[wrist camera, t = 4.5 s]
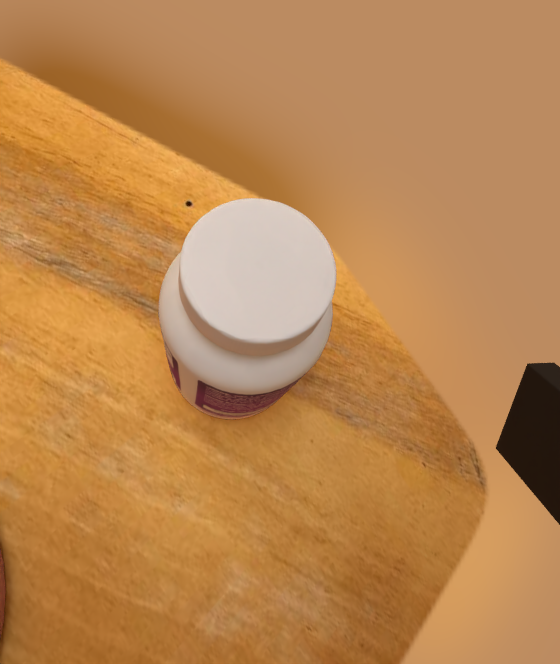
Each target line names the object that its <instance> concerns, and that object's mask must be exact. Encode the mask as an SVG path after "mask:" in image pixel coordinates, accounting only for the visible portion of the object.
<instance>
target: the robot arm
mask: <svg viewBox="0 0 560 664" xmlns="http://www.w3.org/2000/svg"><path fill="white" fill-rule="evenodd" d="M496 449H497V450H498V451H499V453H500V454H501V455H502V456H503V457H504V459H505V460H506V461H507V462H508V463H509V465H510V466H511V467H512V468H513V469H514V471H515V472H516V473H517V474H518V475H519V477H521V479H522V480H523V481H524V482H525V484H526V485H527V486H528V487H529V489H530V490H531V491H532V492H533V493H534V495H535V496H536V497H537V498H538V499H539V500H540V501H541V503H542V504H543V505H544V507H545V508H546V509H547V510H548V511H549V512H550V514H551V515H552V516H553V517H554V519H555V520H556V521H557V522H558V523H559V524H560V367H559V366H558V365H556V364H555V363H534V364H533V363H532V364H527V366H526V369H525V372H524V374H523V377H522V380H521V382H520V385H519V388H518V390H517V393H516V395H515V398H514V401H513V404H512V406H511V409H510V412H509V414H508V417H507V419H506V422H505V425H504V427H503V430H502V433H501V435H500V438H499V441H498V443H497V447H496Z"/></svg>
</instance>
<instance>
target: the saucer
mask: <svg viewBox="0 0 560 664" xmlns="http://www.w3.org/2000/svg"><path fill="white" fill-rule="evenodd" d="M5 592H6V589H5V576H4V563H3V558H2V554H1V549H0V639H1V633H2V627H3V622H4V610H5Z"/></svg>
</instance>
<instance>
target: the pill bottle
mask: <svg viewBox="0 0 560 664" xmlns="http://www.w3.org/2000/svg"><path fill="white" fill-rule="evenodd" d="M335 286H336V265H335V260H334V256H333V253H332V250H331V248H330V246H329V244H328V242H327V240H326V239H325V237H324V236H323V234H322V233H321V231H320V230H319V229H318V228H317V227H316V226H315V225H314V223H313V222H312V221H311V220H310V219H308V218H307V217H306V216H305V215H303V214H302V213H300V212H299V211H297V210H295V209H293V208H292V207H289V206H287V205H285V204H283V203H279V202H276V201H272V200H267V199H257V198H248V199H239V200H234V201H230V202H227V203H225V204H222V205H220V206H218V207H216V208H214V209H212V210H211V211H209V212H208V213H207V214H205V215H204V216H202V217H201V218H200V219H199V220H198V221H197V222H196V223H195V224H194V226H193V227H192V229H191V230H190V232H189V233H188V235H187V237H186V238H185V241H184V244H183V247H182V250H181V252H180V253H179V254H178V256H177V257H176V258H175V259H174V261H173V262H172V264H171V265H170V267H169V269H168V271H167V273H166V275H165V278H164V280H163V283H162V286H161V291H160V297H159V312H158V314H159V321H160V327H161V331H162V335H163V340H164V345H165V350H166V355H167V359H168V363H169V367H170V371H171V374H172V377H173V380H174V382H175V384H176V386H177V388H178V389H179V391H180V393H181V394H182V396H183V397H184V398H185V399H186V400H187V401H188V402H189V403H190V404H191V405H192V406H194V407H195V408H197V409H198V410H200V411H201V412H203V413H205V414H208V415H210V416H213V417H217V418H221V419H242V418H247V417H250V416H253V415H256V414H258V413H260V412H262V411H264V410H266V409H267V408H269V407H270V406H271V405H273V404H274V403H275V402H276V401H277V400H278V399H280V398H281V397H282V396H283V395H284V394H285V393H286V392H287V391H288V390H289V389H290V388H291V387H292V386H293V385H294V384H296V383H297V382H298V380H299V379H300V378H301V377H303V376H304V375H305V374H306V373H307V372H308V371H309V370H310V369H311V368H312V367H313V366H314V365H315V363H316V362H317V361H318V359H319V358H320V356H321V353H322V351H323V349H324V347H325V345H326V343H327V340H328V338H329V334H330V330H331V325H332V316H333V311H332V298H333V295H334V291H335Z"/></svg>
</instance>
